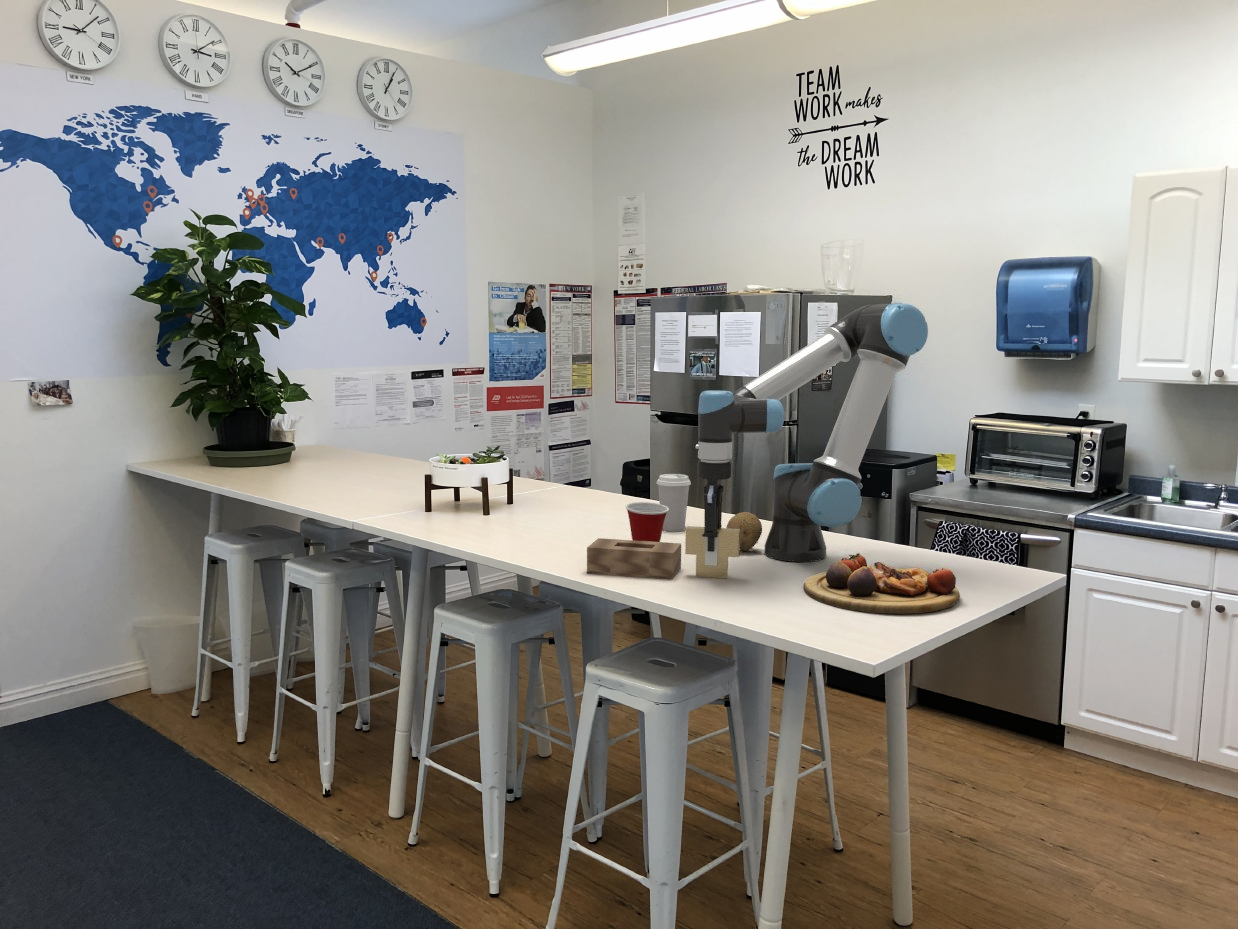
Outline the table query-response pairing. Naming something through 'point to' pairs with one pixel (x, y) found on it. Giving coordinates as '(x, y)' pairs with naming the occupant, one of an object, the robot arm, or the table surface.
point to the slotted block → (634, 558)
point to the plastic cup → (646, 520)
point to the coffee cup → (674, 500)
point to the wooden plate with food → (882, 587)
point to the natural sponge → (746, 529)
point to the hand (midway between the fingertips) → (712, 563)
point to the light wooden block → (726, 548)
